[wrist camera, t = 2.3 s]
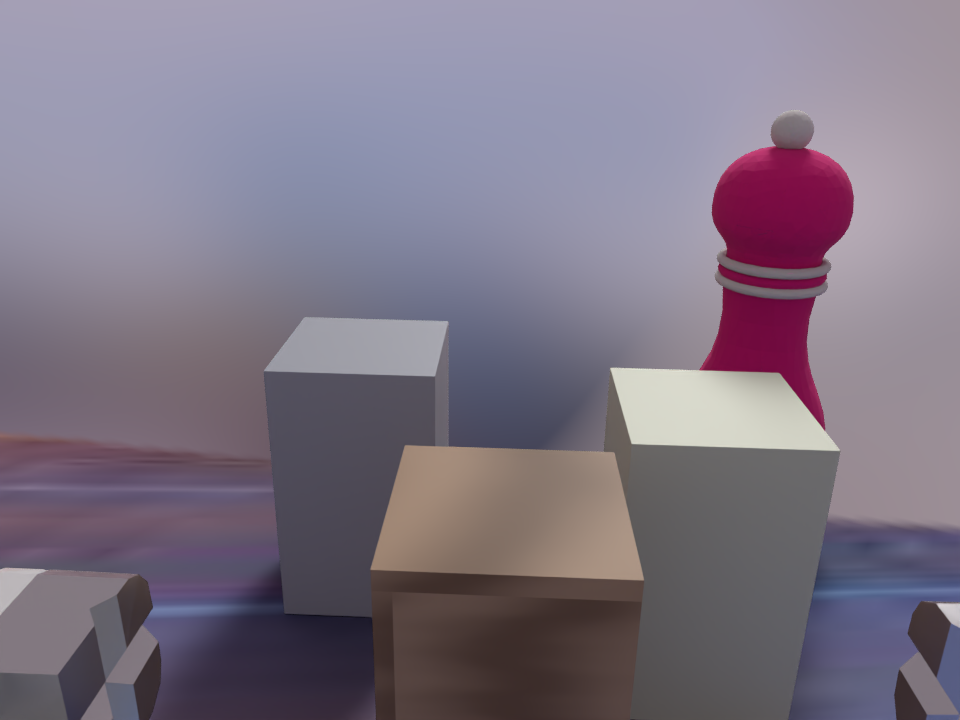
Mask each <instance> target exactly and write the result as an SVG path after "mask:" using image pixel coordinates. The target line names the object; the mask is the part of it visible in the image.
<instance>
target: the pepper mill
mask: <svg viewBox="0 0 960 720" xmlns="http://www.w3.org/2000/svg"><path fill="white" fill-rule="evenodd" d="M813 133H814V125H813V121H812V120H811V118H810V117H809V116H808V115H807V114H806V113H804V112H802V111H799V110H790V111H787V112H784V113H782V114H781V115H780V116H778V117H777V118H776V120H775V121H774V123H773V125H772V127H771V138H772V141H773V142H774V144H775V145H776V146H773V147H767V148H762V149H758V150H755V151H753V152H750V153H748V154H745V155H744V156H742V157H740V158H739V159H737V160H736V161H735V162H734V163H732V164H731V165H730V166H729V167H728V169H727V170H726V171H725V172H724V174H723V175H722V176H721V178H720V180H719V182H718V184H717V187H716V190H715V193H714V198H713V204H712V216H713V222H714V224H715V226H716V228H717V230H718V232H719V233H720V234H721V236H722V237H723V239H724V241H725V242H726V246H727V248H725V249H723V250H721V251H720V252H719V253H718V255H717V260H718V262H719V266H718V271H717V272H716V273H715V279H716V281H717V282H718V283H719V284H720V285H722V286H723V311H722V316H721V321H720V326H719V332H718V335H717V337H716V340H715V343H714V345H713V348H712V350H711V352H710V354H709V355H708V357H707V358H706V360H705V362H704V363H703V365H702V367H701V368H700V371H733V372H766V373H780V374H781V376H782V377H783V378H784V379H785V381H786V382H787V383H788V385H789V386H790V387H791V388H792V390H793V391H794V392H795V394H796V395H797V396H798V397H799V399H800V400H801V401H802V402H803V404H804V405H805V406H806V408H807V409H808V410H809V411H810V413H811V414H812V415H813V417H814V418H815V419H816V420H817V422H818V423H819V424H820V425H821V427H822V428H823V429H824V431H825V423H824V415H823V410H822V407H821V403H820V399H819V396H818V393H817V390H816V387H815V384H814V381H813V378H812V375H811V370H810V366H809V362H808V352H807V334H808V325H809V318H810V315H811V311H812V308H813V305H814V301H815V298H816V296H818V295H821V294H822V293H824V292H825V291H826V290H827V288H828V283H827V281H826V279H827V273H828V272H829V271H830V269H831V263H830V262H829V260H827V259H826V258H824V255H825V253H826V252H827V251H828V250H829V248H830V247H832V246H833V245H834V244H835V243H836V242H838V241H839V240H840V239H841V237H842V236H843V235H844V234H845V232H846V230H847V229H848V227H849V225H850V221H851V218H852V214H853V200H854V196H853V191H852V186H851V182H850V180H849V178H848V176H847V174H846V172H845V171H844V170H843V169H842V167H841V166H840V165H839V164H838V163H836V162H835V161H834V160H832V159H831V158H830V157H828V156H826V155H824V154H821V153H819V152H817V151H814V150H810V149H806V148H804V147H805V146H806V145H807V144H808V143H809V142H810V141H811V139H812V136H813Z"/></svg>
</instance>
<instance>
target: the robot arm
mask: <svg viewBox="0 0 960 720" xmlns="http://www.w3.org/2000/svg"><path fill="white" fill-rule="evenodd" d="M152 608H153V606H152V601H151V596H150V591H149V586H148V582H147V581H146V580H145V579H144V578H142V577H141V576H140V575H139V574H122V573H104V572H86V571H68V570H48V571H47V570H44V569H21V568H4V569H0V720H149V718H150V716H151V714H152V712H153V709H154V705H155V702H156V698H157V694H158V690H159V686H160V679H161V656H160V649H159V642H158V641H157V640H156V639H155V638H154V637H153V636H152V634H151V633H150V632H149V631H148V630H147V629H146V628H145V627H144V626H143V625H142V624H143V622H144V621H145V619H146V618H147V616H148V614H149V613H150V611H151V610H152ZM908 635H909V637H910V638H911V640H912V641H913V643H914V645H915V646H916V648H917V649H918V651H919V652H917V653H916V654H915V655H914V656H913V657H912V658H911V659H910V660H908V661H907V662H906V663H905V664H904V665H903V666H902V667H900V668H899V673H898V678H897V684H896V689H895V694H894V696H895V707H896V718H897V720H960V602H930V601H921V602H920V604H919V605H918V607H917V608H916V609H915V611H914V612H913V614H912V618H911V622H910V626H909V630H908Z"/></svg>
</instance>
